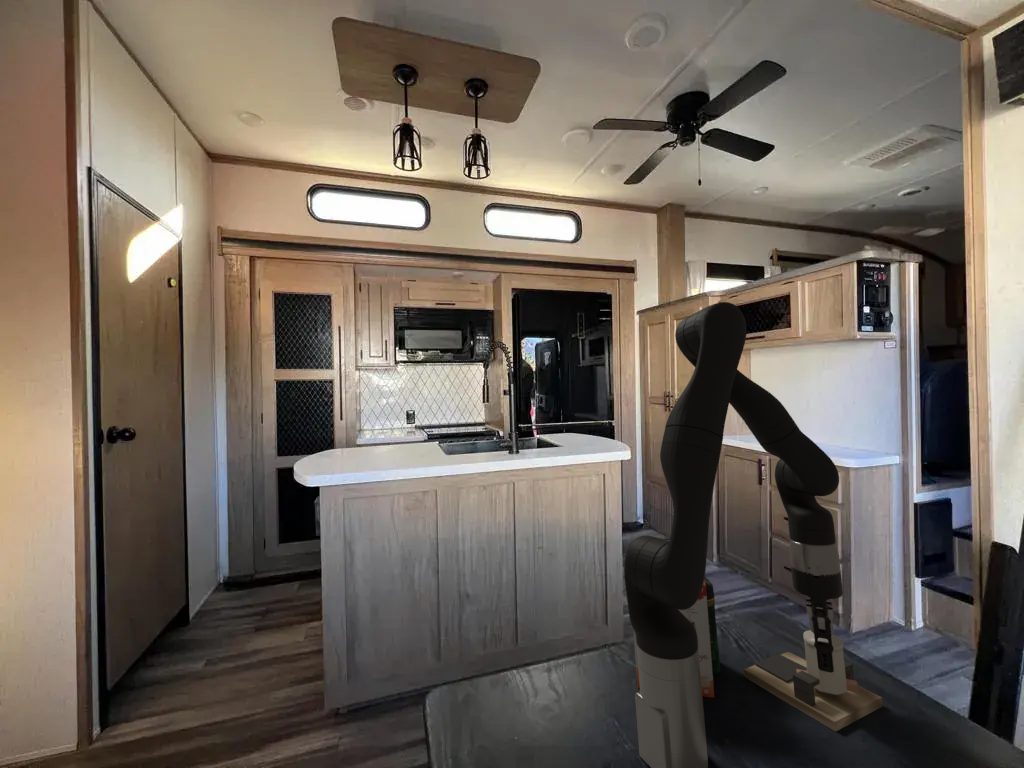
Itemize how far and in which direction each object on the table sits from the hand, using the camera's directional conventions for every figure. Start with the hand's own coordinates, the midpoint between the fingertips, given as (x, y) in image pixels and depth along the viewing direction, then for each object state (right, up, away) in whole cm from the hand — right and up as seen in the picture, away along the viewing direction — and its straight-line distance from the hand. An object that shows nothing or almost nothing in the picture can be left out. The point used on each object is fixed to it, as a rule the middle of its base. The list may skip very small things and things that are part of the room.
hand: (824, 660), depth 80 cm
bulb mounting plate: (-1, -7, +3) cm, 8 cm away
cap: (0, -4, 0) cm, 4 cm away
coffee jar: (-17, -9, +13) cm, 24 cm away
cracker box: (-24, -9, +7) cm, 27 cm away
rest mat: (-3, -6, +7) cm, 10 cm away
